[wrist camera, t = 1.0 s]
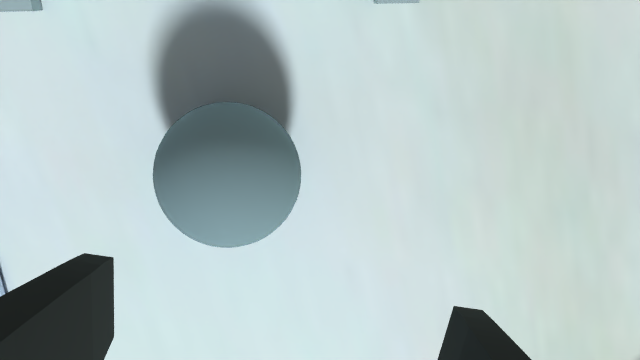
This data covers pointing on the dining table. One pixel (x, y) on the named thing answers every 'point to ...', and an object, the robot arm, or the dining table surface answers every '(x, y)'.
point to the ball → (226, 174)
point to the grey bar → (3, 3)
